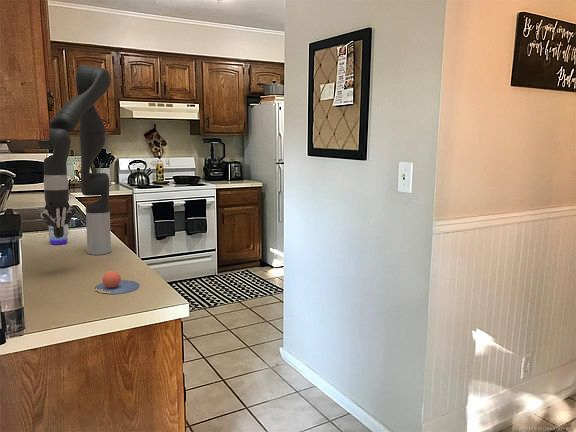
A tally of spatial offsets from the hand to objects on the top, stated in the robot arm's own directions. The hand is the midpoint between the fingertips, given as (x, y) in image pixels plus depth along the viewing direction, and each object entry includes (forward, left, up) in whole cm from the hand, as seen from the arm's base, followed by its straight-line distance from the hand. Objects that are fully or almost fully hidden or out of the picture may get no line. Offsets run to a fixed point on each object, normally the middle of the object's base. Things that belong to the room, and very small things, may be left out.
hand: (59, 237), depth 165 cm
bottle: (-50, -7, -14) cm, 53 cm away
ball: (+19, +17, -11) cm, 28 cm away
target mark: (+19, +19, -14) cm, 30 cm away
